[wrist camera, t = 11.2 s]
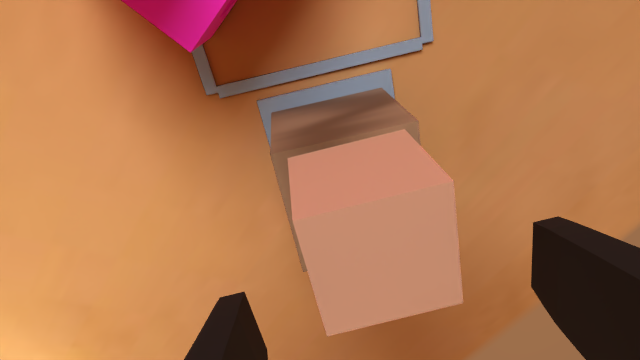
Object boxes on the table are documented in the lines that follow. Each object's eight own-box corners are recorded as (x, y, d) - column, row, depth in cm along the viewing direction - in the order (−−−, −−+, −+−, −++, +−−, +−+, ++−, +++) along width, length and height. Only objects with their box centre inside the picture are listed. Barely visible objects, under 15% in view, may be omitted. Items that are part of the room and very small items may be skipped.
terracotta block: (417, 227, 15) (463, 303, 11) (314, 253, 15) (327, 336, 11) (404, 129, 13) (453, 180, 10) (287, 158, 13) (292, 221, 10)
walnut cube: (381, 87, 18) (418, 120, 13) (394, 185, 20) (429, 242, 15) (271, 112, 18) (270, 154, 13) (296, 208, 20) (303, 272, 15)
